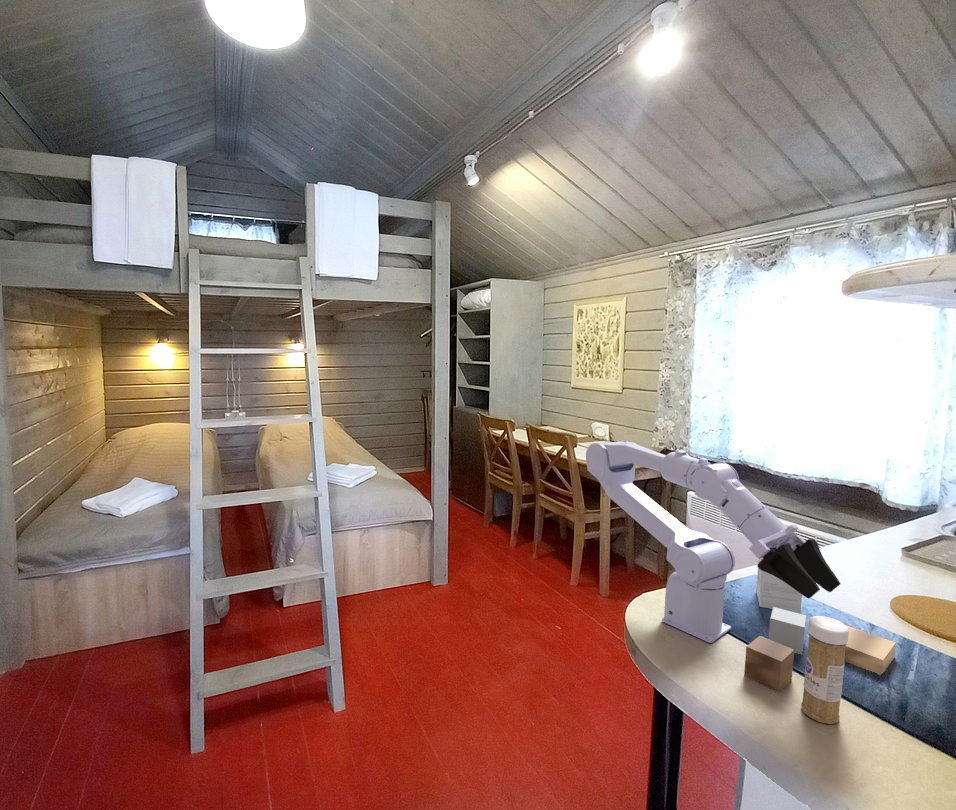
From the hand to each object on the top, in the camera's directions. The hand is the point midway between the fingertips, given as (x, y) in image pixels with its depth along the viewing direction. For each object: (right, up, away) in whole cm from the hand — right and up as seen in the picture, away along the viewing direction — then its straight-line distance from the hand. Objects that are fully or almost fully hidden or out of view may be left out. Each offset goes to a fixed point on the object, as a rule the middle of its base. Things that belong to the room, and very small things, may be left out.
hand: (825, 591), depth 76 cm
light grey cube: (+3, -14, +14) cm, 20 cm away
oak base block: (+13, -15, +11) cm, 23 cm away
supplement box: (+10, -13, +29) cm, 33 cm away
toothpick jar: (-3, -16, -4) cm, 17 cm away
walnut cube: (-6, -15, +4) cm, 17 cm away
